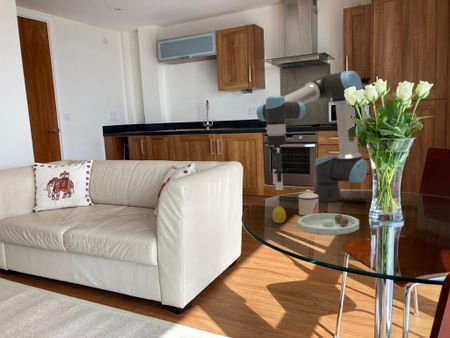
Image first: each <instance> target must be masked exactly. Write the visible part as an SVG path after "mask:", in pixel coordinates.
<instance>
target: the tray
mask: <svg viewBox="0 0 450 338" xmlns="http://www.w3.org/2000/svg"><path fill="white" fill-rule="evenodd" d="M338 214H340V215H342V216H343V217H345V218H347V219H348V221H349V223H348V225H347V226H341V225H340V223H337V222H336V221H335V216H336V215H338ZM296 225H297V228H298V229H300V230H301V231H303V232H307V233H311V234H315V235H324V236H325V235H329V236H338V235H345V234H352V233H353V232H356V231H358V230H360V219H358V218H357V217H354V216H351V215H349V214H348V215H347V214H341V213H331V212H330V213H328V212H326V213H324V212H321V213H320V212H319V214H310V215H306V216H305V215H302V216H300V217H299V218H298V220H297V224H296Z"/></svg>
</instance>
